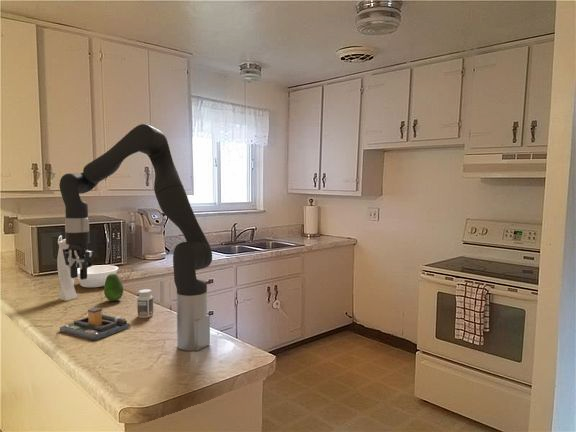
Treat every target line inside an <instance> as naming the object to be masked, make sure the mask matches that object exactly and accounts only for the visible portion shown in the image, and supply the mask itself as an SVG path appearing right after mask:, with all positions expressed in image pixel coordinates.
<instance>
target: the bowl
mask: <svg viewBox="0 0 576 432" xmlns="http://www.w3.org/2000/svg"><path fill="white" fill-rule="evenodd" d="M77 270H78V277H76V278H75V280H76V279H77V280H78V281H79V284H80V286H81V287H83V288H98V287H99V288H100V287H104V286H105V281H106V278H107V276H108V275H110V274H116V275H117V273H118V270H119V267H118V266H116V265H112V264H111V265H108V264H101V265H100V264H99V265H92V266H91V267H88V268H87V278H86V279H83V280H82V279H80V267H77Z"/></svg>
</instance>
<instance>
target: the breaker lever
mask: <svg viewBox="0 0 576 432" xmlns="http://www.w3.org/2000/svg"><path fill="white" fill-rule="evenodd" d="M102 312H103V309H102V308H100V307H94V308H90V309H87V313H88V314H87V317H88V322H89V324H93V325H97V326H99V325H102Z"/></svg>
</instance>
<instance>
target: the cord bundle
mask: <svg viewBox="0 0 576 432" xmlns="http://www.w3.org/2000/svg"><path fill="white" fill-rule="evenodd" d="M102 319H104V320H108V321H112V322H117V324H119V325H124V324H126V323H128V320H127V319H126V318H123V317H122V316H116V315H111V314H106V313H104V312H103V311H102Z"/></svg>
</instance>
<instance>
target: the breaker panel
mask: <svg viewBox="0 0 576 432" xmlns="http://www.w3.org/2000/svg"><path fill="white" fill-rule="evenodd" d="M130 328H131V324H130V322H129V323H128V322H127V323H126V324H124V325H119V324H117V322H112V321H108V320H104V319H102V325H99V326H97V325H93V324H89V322H88V316H87V317H83V318H81V319H77V320H74V321H73V322H72V323H69V324H64V325H62V326H60V327H59V332H61V333H64V334H67V335H71V336H75V337H79V338H83V339H85V340H86V339H87V340H91V341H94V342H96V341H98V340H99V341H100V340H101V339H104V338H107V337H109V336H112V335H114V334H116V333H119V332H122V331H124V330H127V329H130Z"/></svg>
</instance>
